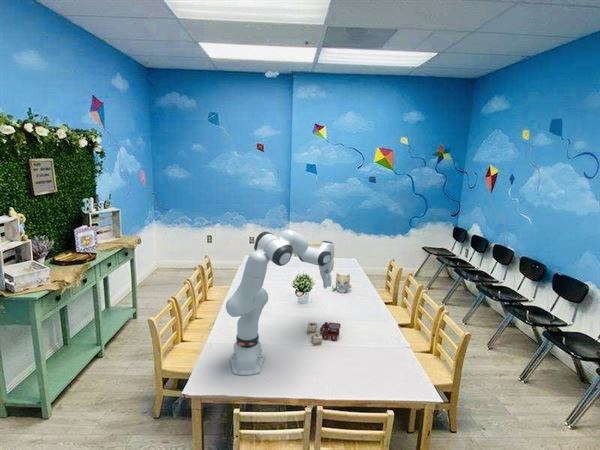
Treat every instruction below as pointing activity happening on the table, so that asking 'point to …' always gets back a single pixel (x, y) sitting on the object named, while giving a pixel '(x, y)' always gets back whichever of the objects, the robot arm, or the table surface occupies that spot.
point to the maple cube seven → (312, 328)
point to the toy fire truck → (330, 331)
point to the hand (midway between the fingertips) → (325, 287)
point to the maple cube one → (316, 339)
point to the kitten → (342, 283)
